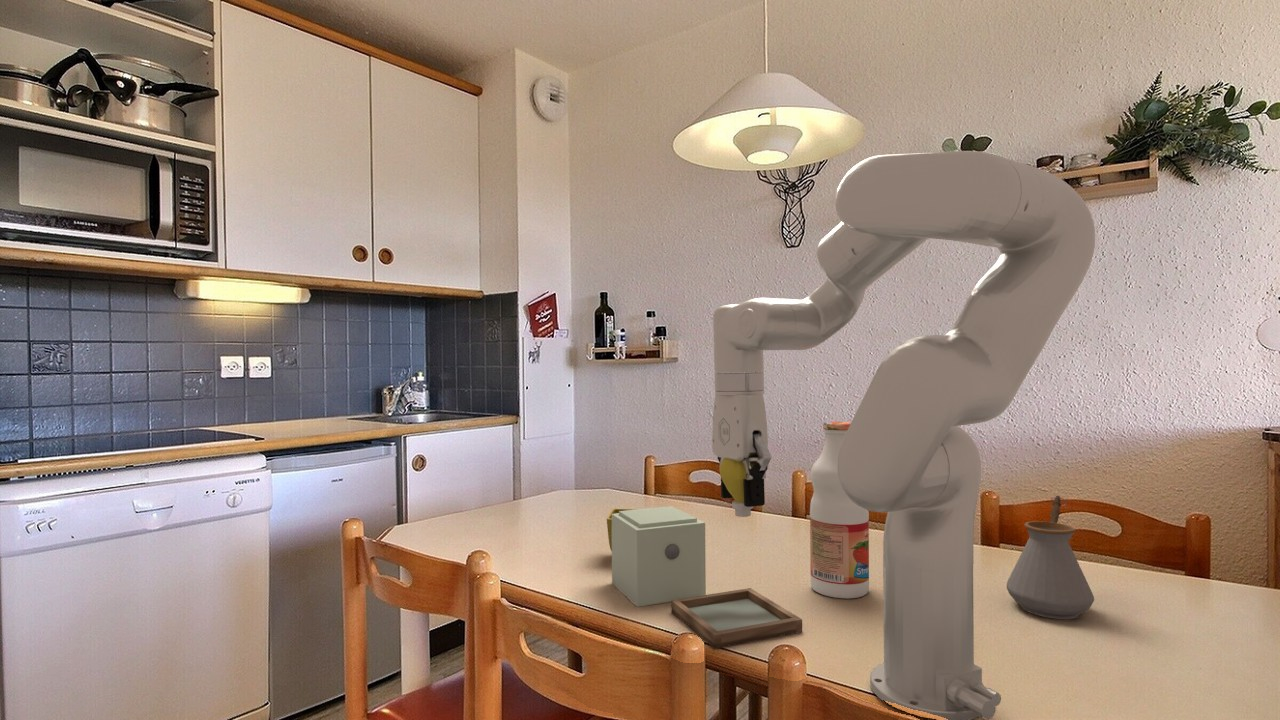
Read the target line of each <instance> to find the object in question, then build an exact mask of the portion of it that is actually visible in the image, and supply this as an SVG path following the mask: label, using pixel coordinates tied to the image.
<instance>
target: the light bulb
mask: <svg viewBox="0 0 1280 720" xmlns="http://www.w3.org/2000/svg"><path fill="white" fill-rule="evenodd" d="M753 457H755V455H749V456H748V458H753ZM753 465H754V463H752V464H750V466H751V469H752V467H753ZM719 466H720V470H719V477H720V479H721V478H722V480H723V482H724V484H725V486H726V488H727V490H728V491H729V492H730V494H731V495H732V497H733V498H732V499H734V500H732V501H731V507H732V509H733V510H734V512H735V513H734V514H735V516H736V517H740V518H747V517H751V515H752V513H751V511H752V509H754V506H753V507H746V506H745V505H744V484H743V479H746V475H745V471H744V467H743V463H742V461H733V460H729V459H726V458H724V459H723V461H722V462H721V465H720V464H719Z"/></svg>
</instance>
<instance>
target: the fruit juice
mask: <svg viewBox="0 0 1280 720" xmlns="http://www.w3.org/2000/svg"><path fill="white" fill-rule="evenodd" d="M851 422H852V421H851ZM851 422H850V421H824V422H823V425H822V429H823V433H824V435H825V439H824V444H823V447H822V451H821V453H820V455H819V457H818V458H817V459H816V460H815V461H814V463H813V465H812V467H811V470H810V480H811V485H812V488H813V494H812V497H811V499H810V506H809V521H810V522H809V523H810V524H809V527H810V529H809V533H810V535H809V537H810V540H809V541H810V542H809V545H810V546H809V547H810V549H809V552H810V558H809V560H810V561H809V562H810V563H809V565H810V584H811V585H810V586H811V588H812V590H813V591H814V592H816V593H818V594H820V595H822V596H826V597H831V598H833V599H834V598H835V599H857V598H858V599H859V598H861V597H865V596H866V595H867V594H868V592H869V589H870V588H869V587H870V544H869V543H870V538H869V536H870V535H869V534H870V533H869V532H870V529H869V527H870V525H869V524H870V520H869V518H870V517H869V515H870V513H869V510H866V509H864V508H862V507H860V506H858V505H856V504H855V503H854V502H852V501H851V500H850V499H849V497H848V496H847V495H846V494H845V492H844V490H843V488H842V486H841V484H840V481H839V476H838V469H837V464H838V455H839V451H840V447H841V444H842V441H843V439H844V437H845V434H846V432H847V430H848V428H849V426H850V424H851Z"/></svg>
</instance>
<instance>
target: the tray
mask: <svg viewBox="0 0 1280 720" xmlns="http://www.w3.org/2000/svg"><path fill="white" fill-rule="evenodd" d="M670 604H671V606H670V607H671V609H670V611H671V613H672V614H673V615H674V616H675V617H677V618H678V619H679V620H680V621H681V622H682V623H684V625H686V626H687V627H688V628H689V629H691V630H692V631H693V632H695V634H697V636H699V637H700V638H702V640H704V641H705V642H706V643H707V644H708V645H710V646H711V647H712V648H713V649H715V650H716V649H720V648H725V647H732V646H737V645H742V644H748V643H753V642H758V641H762V640H768V639H773V638H778V637H783V636H784V635H785V636H789V634H790V635H793V634H794V635H795V634H799V633H800V634H801V633H803V618H801V617H799V616H798V615H796V614H794V613H792V612H790V610H788V609H786V608H784V607H783V606H781V605H779V604H778V603H776V602H774V601H773V600H771V599H769V598H768V597H766V596H764V595H763V594H761V593H759V592H758V591H756V590H755V589H753V588H752V587H751V588H749V587H748V588H743V589H736V590H729V591H723V592H717V593H709V594H706V595H702V596H696V597H689V598H683V599H676V600H671V602H670Z"/></svg>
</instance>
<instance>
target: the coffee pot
mask: <svg viewBox="0 0 1280 720" xmlns="http://www.w3.org/2000/svg"><path fill="white" fill-rule="evenodd" d="M1053 499H1054V501H1053ZM1061 500H1063V501H1064V502H1065V503H1064V504H1062V503H1061ZM1050 503H1051V504H1052V507H1051V510H1050V520H1049V521H1042V520H1041V521H1039V520H1033V521H1025V523H1024V524H1023V525H1024V527H1025V528H1026V529H1027V532H1028V536H1029V538H1028V539H1027V542H1026V543H1025V546H1024V547H1023V549H1022V552H1021V553H1020V555H1019V557H1018V560H1017V561H1016V564H1015V565H1014V567H1013V569H1012V572H1011V573H1010V575H1009V577H1008V580H1007V582H1006V590H1007V591H1008V594H1009V595H1010V596H1011V598H1012V599H1013V600H1014V601H1015V602H1016V603H1017V604H1019V607H1021V608H1022V610H1024V611H1025V612H1028V613H1030V614H1033V615H1036V616H1041V617H1044V618H1050V619H1056V620H1072V619H1076V618H1079V616H1080V614H1083V613H1085V612H1087V611H1088V610H1089V609H1091V607H1092V605H1093V603H1094V602H1095V596H1094V594H1093V592H1092V590H1091V587H1090V584H1089V583H1088V581H1087V578H1086V575H1084V572H1083V570H1082V568H1081V566H1080V564H1079V562H1078V559H1077V557H1076V555H1075V553H1074V551H1073V549H1072V546H1071V545H1070V543H1069V541H1070V539H1072V537H1073V536H1074V534H1075V533H1076V532H1077V529H1076V528H1075V527H1073V526H1070V525H1067V524H1064V523H1059V517H1060V513H1061V511H1060V508H1061V507H1064V506H1066V505H1067V500H1066V499H1065V498H1063V497H1061V496H1060V495H1056V496H1054V497H1052V498H1051V499H1050Z"/></svg>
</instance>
